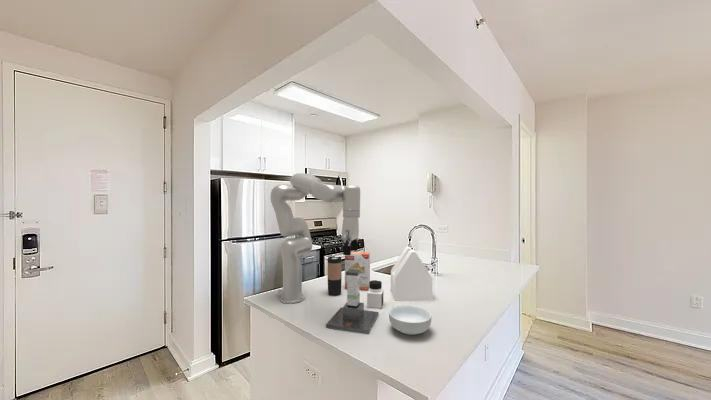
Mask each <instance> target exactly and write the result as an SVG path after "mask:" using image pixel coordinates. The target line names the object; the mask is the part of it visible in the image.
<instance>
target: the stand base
mask: <svg viewBox="0 0 711 400" xmlns="http://www.w3.org/2000/svg"><path fill="white" fill-rule="evenodd" d="M379 315H380V313H379V311H373V310H367V309H365V304H364V302H360V303H359V304H358V306H349V305H347V302H346V303H345V304H344V305H343V306H342V307H340V308H339V309H338V310H337V311H336V312H335V314H334V315H332V317H331V318H330V319H329V320H328V321H327V322H326V324H325V328H326V329H330V330H338V331H345V332H352V333H358V334H365V335H369V334H370V333H371V331H372V329H373V327H374V324H375V323H376V321H377V319H378V317H379Z"/></svg>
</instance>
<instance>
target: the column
mask: <svg viewBox="0 0 711 400" xmlns="http://www.w3.org/2000/svg"><path fill="white" fill-rule="evenodd" d="M360 273H361V270H356V269H349V270H348V271H347V272H346V275H347V289H346V290H347V291H346V293H347V294H346V298H347V299H346V300H347V301H346V303H347V305H349V306H358V304H359V303H361V302H360V297H361V294H360V293H361V292H360V291H361V290H360Z"/></svg>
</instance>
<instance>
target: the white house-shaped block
mask: <svg viewBox="0 0 711 400" xmlns="http://www.w3.org/2000/svg"><path fill="white" fill-rule="evenodd" d="M390 292H391V294H392V297H393V299H394V301H396V302H397V301H405V302H406V301H410V302H411V301H433V277H432V275H431V274H430V272H429V271H428V268H427V267H426V266H425V264H424V263H423V261H422V259H421V258H420V257H419V255H418V254H417V252H416V251H415V250H414V249H412V248H411V247H410V246H405V247H404V249H403V250H402V252H401V253H400V255H399V257H398V259H397V260H396V262H395V263H394V265H393V266H392V268H391V270H390Z"/></svg>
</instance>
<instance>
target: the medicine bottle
mask: <svg viewBox="0 0 711 400" xmlns="http://www.w3.org/2000/svg"><path fill="white" fill-rule="evenodd" d="M382 284H383V283H382V281H381V280H379V279H372V280H370V282H369V290H367V294H366V302H367V303H366V304H367V305H366V307H367V308H372V309H383V305H384V288H382V287H383V286H382Z"/></svg>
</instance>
